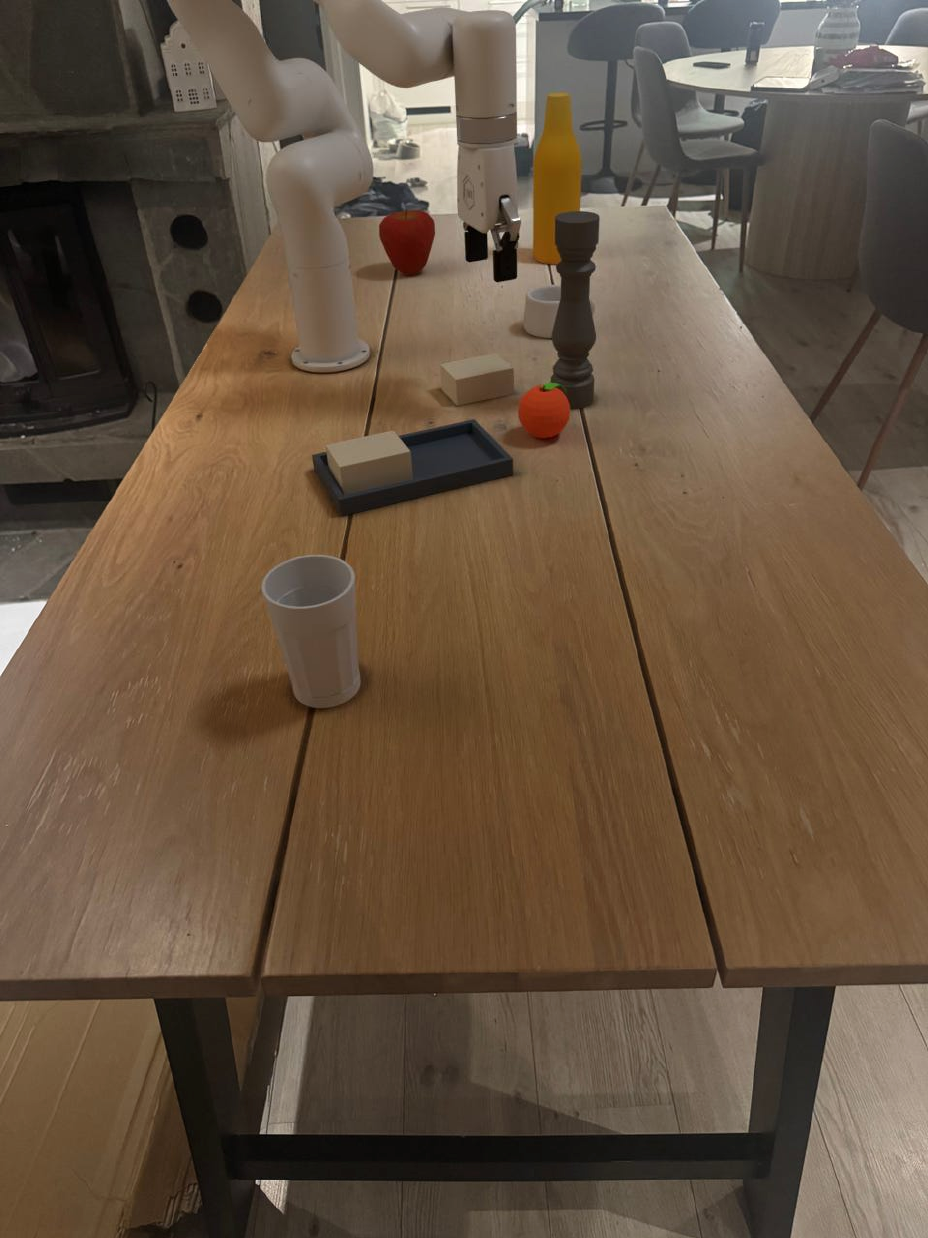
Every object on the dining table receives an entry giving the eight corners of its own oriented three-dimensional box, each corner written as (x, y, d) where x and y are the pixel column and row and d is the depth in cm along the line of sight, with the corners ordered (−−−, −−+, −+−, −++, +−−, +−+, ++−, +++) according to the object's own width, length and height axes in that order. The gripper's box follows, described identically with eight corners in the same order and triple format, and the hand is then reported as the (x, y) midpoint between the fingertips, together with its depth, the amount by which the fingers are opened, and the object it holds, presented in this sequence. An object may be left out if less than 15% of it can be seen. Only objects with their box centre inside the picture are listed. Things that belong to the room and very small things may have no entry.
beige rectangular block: (441, 389, 138) (439, 363, 136) (496, 377, 141) (495, 352, 138) (457, 405, 134) (455, 379, 131) (514, 393, 136) (513, 367, 134)
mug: (526, 341, 152) (526, 304, 148) (520, 320, 160) (520, 285, 156) (598, 336, 152) (600, 300, 148) (589, 316, 160) (591, 280, 156)
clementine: (546, 416, 130) (547, 367, 125) (585, 431, 125) (587, 381, 121) (507, 436, 125) (506, 386, 121) (546, 452, 121) (546, 401, 117)
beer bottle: (580, 264, 183) (586, 97, 165) (533, 265, 183) (534, 99, 165) (576, 250, 190) (581, 88, 172) (531, 251, 190) (532, 91, 172)
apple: (406, 261, 189) (401, 198, 182) (448, 268, 184) (445, 204, 176) (371, 276, 182) (364, 211, 175) (414, 285, 177) (409, 218, 170)
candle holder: (591, 410, 130) (599, 223, 115) (547, 408, 132) (550, 223, 116) (595, 391, 135) (603, 210, 120) (553, 389, 136) (556, 210, 121)
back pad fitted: (329, 473, 118) (325, 444, 115) (396, 458, 120) (393, 429, 118) (343, 496, 113) (339, 467, 110) (413, 479, 115) (410, 451, 113)
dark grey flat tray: (314, 470, 120) (311, 454, 119) (474, 434, 126) (474, 418, 125) (341, 516, 111) (338, 499, 109) (513, 474, 117) (513, 458, 115)
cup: (287, 661, 90) (265, 558, 82) (369, 653, 90) (355, 550, 83) (281, 718, 83) (257, 612, 76) (369, 710, 84) (354, 604, 76)
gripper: (434, 122, 120) (442, 257, 131) (486, 145, 108) (490, 293, 118) (487, 115, 123) (490, 249, 133) (544, 137, 110) (543, 283, 120)
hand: (490, 269), depth 126 cm, fingers open, 9 cm apart
